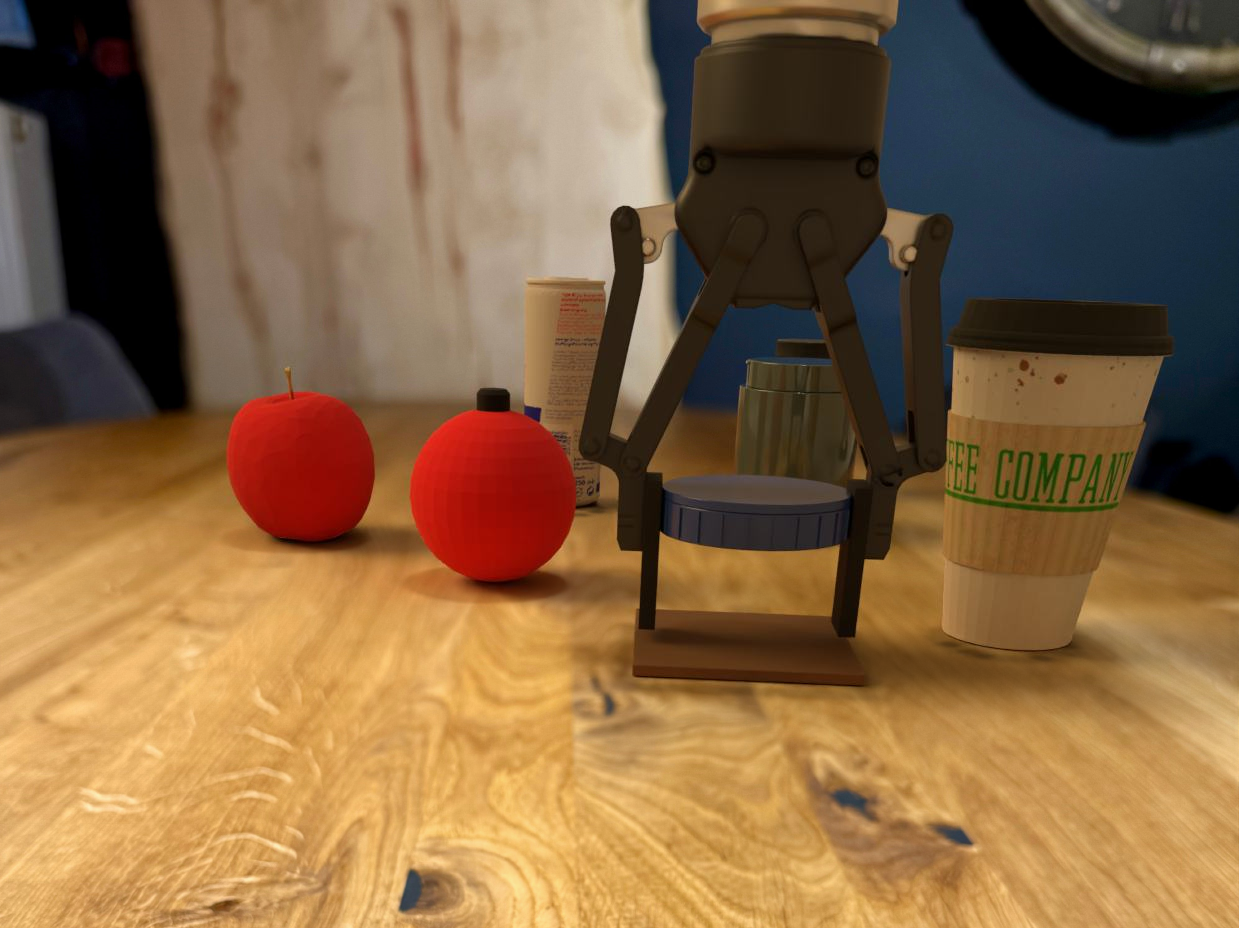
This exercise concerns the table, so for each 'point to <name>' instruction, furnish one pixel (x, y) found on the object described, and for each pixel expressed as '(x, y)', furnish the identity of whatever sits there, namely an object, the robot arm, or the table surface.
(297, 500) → the fruit
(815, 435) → the jar
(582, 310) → the beverage can
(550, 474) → the ornament
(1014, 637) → the coffee cup
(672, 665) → the coaster
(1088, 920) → the table surface
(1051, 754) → the table surface
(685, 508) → the lid
